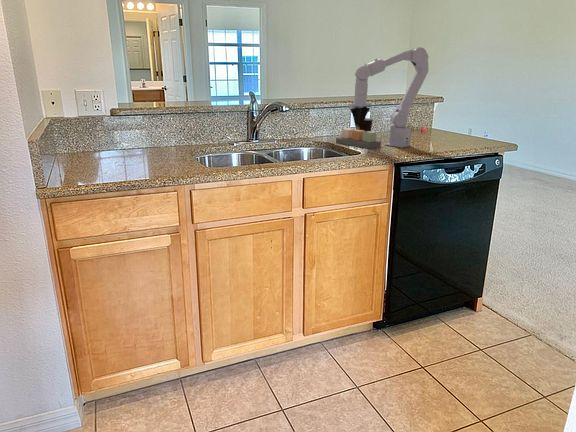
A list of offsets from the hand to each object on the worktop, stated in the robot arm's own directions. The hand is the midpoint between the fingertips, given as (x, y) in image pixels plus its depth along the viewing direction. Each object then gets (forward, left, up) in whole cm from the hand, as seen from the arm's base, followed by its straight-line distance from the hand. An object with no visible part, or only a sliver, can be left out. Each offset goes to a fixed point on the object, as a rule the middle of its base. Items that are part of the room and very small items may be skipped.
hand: (359, 123), depth 208 cm
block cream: (+6, 0, -7) cm, 10 cm away
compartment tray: (0, 0, -10) cm, 10 cm away
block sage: (-6, 0, -7) cm, 10 cm away
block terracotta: (0, 0, -7) cm, 7 cm away
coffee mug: (+10, -16, -10) cm, 21 cm away
